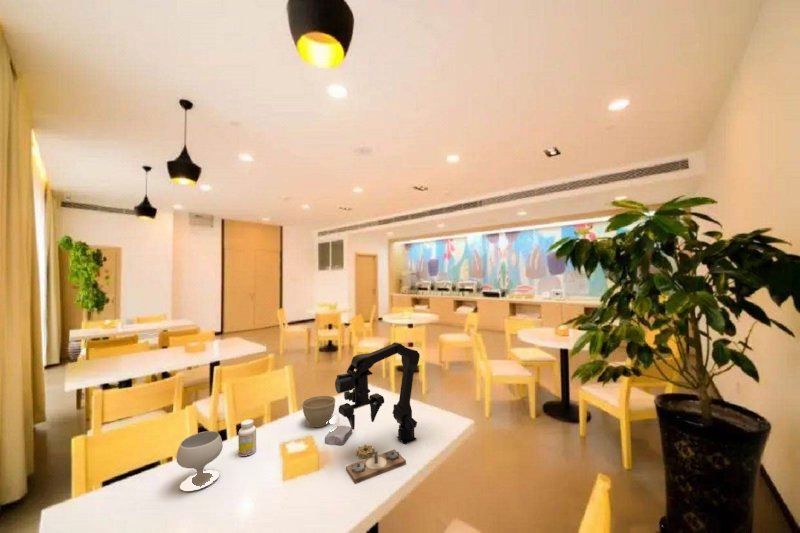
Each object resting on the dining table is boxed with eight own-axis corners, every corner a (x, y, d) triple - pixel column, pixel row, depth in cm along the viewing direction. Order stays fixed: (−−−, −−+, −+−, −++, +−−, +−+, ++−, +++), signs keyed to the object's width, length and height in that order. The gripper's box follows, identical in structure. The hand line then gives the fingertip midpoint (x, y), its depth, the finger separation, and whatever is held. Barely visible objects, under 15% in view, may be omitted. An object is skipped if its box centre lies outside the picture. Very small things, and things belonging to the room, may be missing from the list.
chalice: (172, 500, 100) (172, 454, 100) (180, 476, 112) (180, 435, 113) (221, 486, 106) (221, 442, 107) (223, 465, 119) (223, 426, 119)
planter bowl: (342, 420, 155) (342, 398, 155) (318, 434, 141) (317, 410, 141) (320, 413, 163) (320, 393, 164) (295, 426, 150) (295, 403, 150)
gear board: (394, 453, 124) (394, 439, 125) (405, 464, 117) (405, 449, 117) (345, 470, 114) (345, 455, 114) (354, 483, 106) (354, 467, 106)
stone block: (323, 449, 132) (344, 446, 130) (321, 437, 133) (342, 434, 131) (334, 436, 144) (354, 433, 142) (332, 425, 144) (352, 422, 142)
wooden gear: (369, 447, 129) (369, 442, 129) (377, 456, 122) (377, 450, 123) (354, 453, 125) (354, 448, 125) (360, 461, 119) (360, 456, 119)
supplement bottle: (246, 447, 131) (246, 417, 131) (259, 449, 129) (259, 418, 130) (234, 456, 124) (234, 424, 125) (248, 458, 123) (248, 426, 123)
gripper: (370, 376, 137) (371, 411, 136) (331, 387, 125) (333, 426, 125) (384, 383, 128) (385, 420, 127) (344, 395, 116) (346, 436, 116)
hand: (363, 425), depth 124 cm, fingers open, 9 cm apart
